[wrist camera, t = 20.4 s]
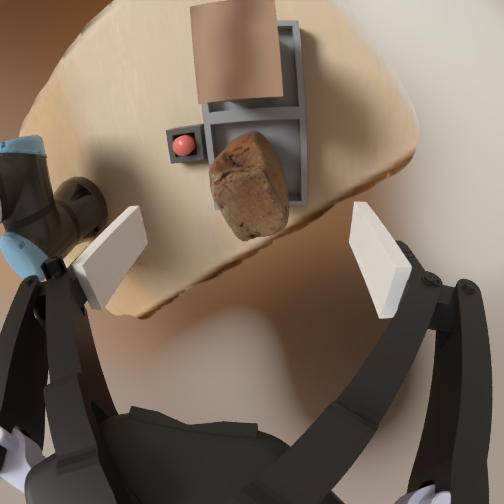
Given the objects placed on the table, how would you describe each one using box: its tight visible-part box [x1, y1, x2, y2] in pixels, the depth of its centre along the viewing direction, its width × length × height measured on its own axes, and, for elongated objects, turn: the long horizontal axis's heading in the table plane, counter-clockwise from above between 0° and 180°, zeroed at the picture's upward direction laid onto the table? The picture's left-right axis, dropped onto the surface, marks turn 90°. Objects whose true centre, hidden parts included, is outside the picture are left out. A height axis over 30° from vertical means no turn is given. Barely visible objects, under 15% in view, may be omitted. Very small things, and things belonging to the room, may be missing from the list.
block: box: [209, 131, 289, 241], centre depth 36 cm, size 11×8×20 cm
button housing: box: [166, 124, 208, 164], centre depth 43 cm, size 6×6×3 cm
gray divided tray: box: [202, 21, 307, 210], centre depth 40 cm, size 16×32×4 cm, turn 4°
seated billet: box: [190, 0, 283, 104], centre depth 28 cm, size 8×11×20 cm
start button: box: [173, 134, 196, 156], centre depth 42 cm, size 3×3×4 cm
